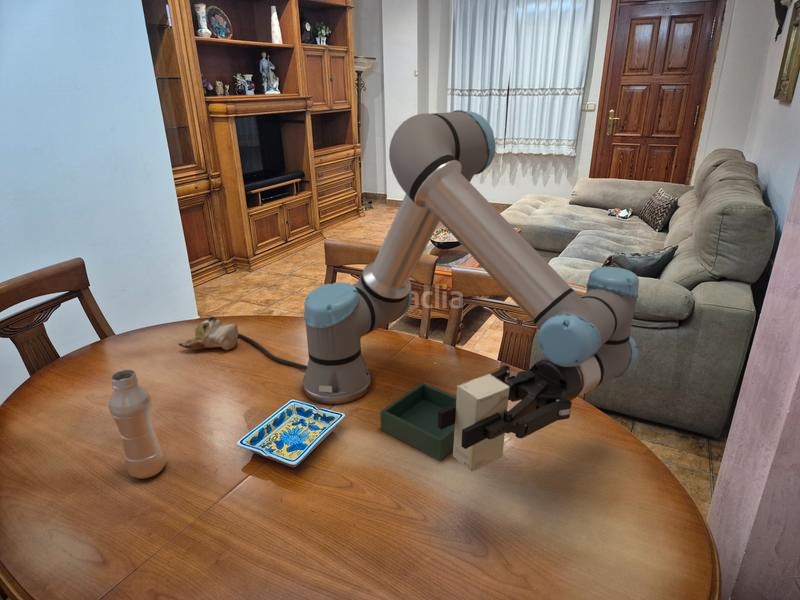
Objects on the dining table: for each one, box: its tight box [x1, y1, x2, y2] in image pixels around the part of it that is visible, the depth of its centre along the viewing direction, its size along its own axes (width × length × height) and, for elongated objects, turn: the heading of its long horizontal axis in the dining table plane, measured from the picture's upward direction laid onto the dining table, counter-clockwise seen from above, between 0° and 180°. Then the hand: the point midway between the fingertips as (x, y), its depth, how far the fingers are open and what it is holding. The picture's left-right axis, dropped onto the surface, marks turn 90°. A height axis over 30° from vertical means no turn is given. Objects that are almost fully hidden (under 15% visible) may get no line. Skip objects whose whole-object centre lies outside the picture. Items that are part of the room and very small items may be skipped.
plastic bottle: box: [108, 369, 167, 480], centre depth 88 cm, size 6×7×20 cm
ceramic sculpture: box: [178, 317, 239, 351], centre depth 135 cm, size 11×9×15 cm
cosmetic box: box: [452, 373, 510, 473], centre depth 73 cm, size 6×4×12 cm
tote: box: [379, 382, 457, 462], centre depth 102 cm, size 15×14×4 cm
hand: (451, 429), depth 69 cm, fingers closed on cosmetic box, 4 cm apart
